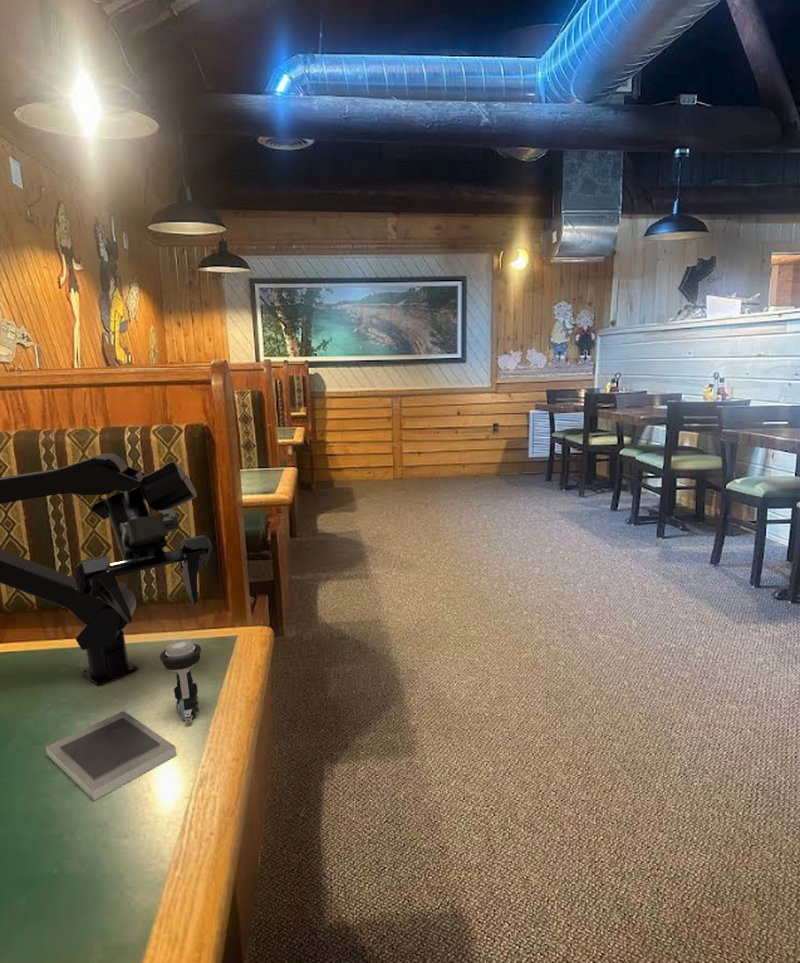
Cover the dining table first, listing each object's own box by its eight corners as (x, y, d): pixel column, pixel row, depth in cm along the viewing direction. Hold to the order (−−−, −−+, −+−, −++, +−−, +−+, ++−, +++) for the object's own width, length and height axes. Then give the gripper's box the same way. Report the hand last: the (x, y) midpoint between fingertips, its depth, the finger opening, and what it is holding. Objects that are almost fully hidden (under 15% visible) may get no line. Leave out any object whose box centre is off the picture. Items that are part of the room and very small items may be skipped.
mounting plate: (47, 755, 77) (45, 745, 76) (124, 718, 84) (123, 709, 84) (94, 800, 68) (92, 789, 67) (176, 755, 75) (175, 745, 75)
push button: (209, 721, 82) (200, 653, 80) (167, 731, 80) (157, 661, 79) (208, 698, 88) (199, 634, 86) (169, 706, 87) (160, 641, 85)
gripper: (67, 505, 83) (96, 602, 76) (201, 484, 94) (236, 567, 87) (65, 549, 90) (92, 641, 83) (190, 525, 101) (222, 604, 95)
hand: (163, 612), depth 87 cm, fingers open, 9 cm apart
